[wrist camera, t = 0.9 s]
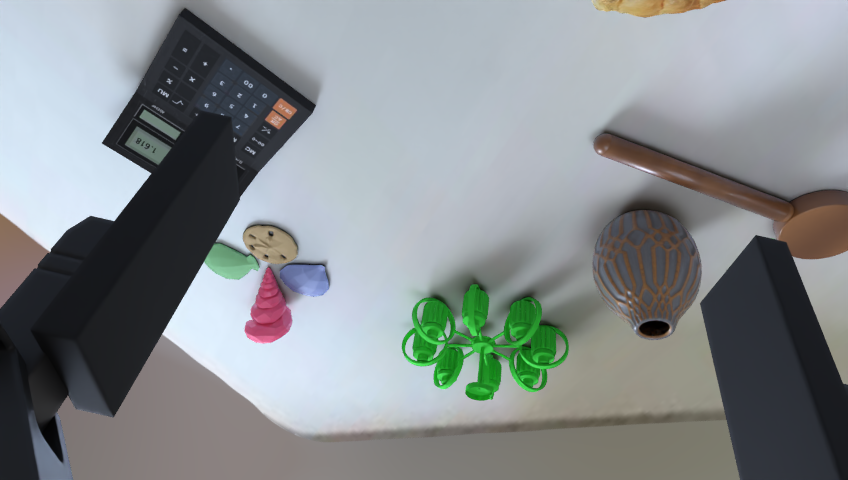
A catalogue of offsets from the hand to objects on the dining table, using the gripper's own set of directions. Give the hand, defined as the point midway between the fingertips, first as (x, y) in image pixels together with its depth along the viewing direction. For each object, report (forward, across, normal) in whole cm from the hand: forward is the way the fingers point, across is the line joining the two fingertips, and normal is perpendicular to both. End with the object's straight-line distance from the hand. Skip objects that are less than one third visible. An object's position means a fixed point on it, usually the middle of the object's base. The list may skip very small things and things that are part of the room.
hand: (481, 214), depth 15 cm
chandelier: (+22, +6, -33) cm, 40 cm away
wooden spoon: (+21, +18, -12) cm, 30 cm away
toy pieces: (+22, -14, -32) cm, 41 cm away
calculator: (+21, -17, -15) cm, 31 cm away
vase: (+22, +14, -17) cm, 31 cm away
